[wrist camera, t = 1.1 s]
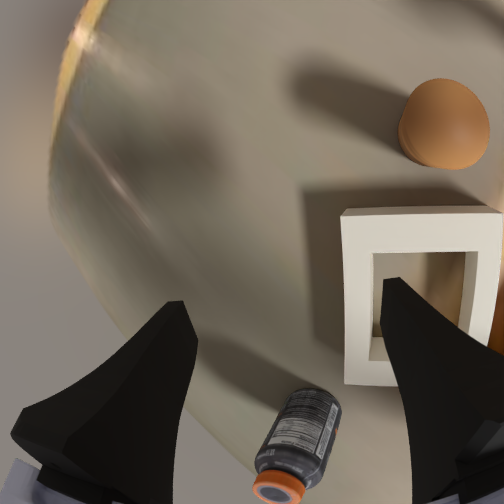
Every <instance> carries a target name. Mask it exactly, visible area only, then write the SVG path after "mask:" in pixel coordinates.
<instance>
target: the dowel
mask: <svg viewBox="0 0 504 504" xmlns="http://www.w3.org/2000/svg"><path fill="white" fill-rule="evenodd" d="M489 136H490V127H489V120H488V116H487V113H486V111H485V109H484V107H483V105H482V103H481V102H480V100H479V99H478V98H477V96H476V95H475V94H474V93H473V92H472V91H471V90H470V89H468V88H467V87H465V86H464V85H462V84H460V83H458V82H456V81H453V80H449V79H432V80H429V81H426V82H424V83H422V84H421V85H419V86H418V87H417V88H416V89H415V90H414V91H413V92H412V94H411V95H410V97H409V99H408V101H407V104H406V107H405V109H404V112H403V115H402V117H401V120H400V122H399V126H398V140H399V143H400V146H401V148H402V150H403V152H404V153H405V154H406V155H407V156H408V157H409V158H410V159H411V160H412V161H414V162H415V163H417V164H419V165H422V166H427V167H435V168H443V169H451V170H457V169H463V168H466V167H469V166H471V165H472V164H474V163H475V162H477V161H478V160H479V159H480V158H481V156H482V155H483V153H484V152H485V150H486V148H487V145H488V142H489Z"/></svg>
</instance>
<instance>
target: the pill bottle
mask: <svg viewBox="0 0 504 504" xmlns="http://www.w3.org/2000/svg"><path fill="white" fill-rule="evenodd" d="M341 414H342V411H341V406H340V404H339V403H338V401H337V400H336V399H335V398H334V397H333V396H331V395H330V394H328V393H326V392H324V391H321V390H317V389H301V390H298V391H295V392H294V393H292V394H291V395H290V396H289V397H288V398H287V399H286V401H285V403H284V405H283V407H282V408H281V410H280V412H279V414H278V416H277V418H276V420H275V422H274V424H273V426H272V428H271V430H270V432H269V433H268V435H267V437H266V439H265V441H264V443H263V445H262V446H261V448H260V450H259V452H258V454H257V456H256V458H255V469H256V471H257V473H258V474H259V475H258V476H257V478H256V481H255V482H254V484H253V492H254V494H255V495H256V496H258V497H259V498H260V499H262V500H263V501H265V502H268V503H270V504H298V503H299V502H300V501H301V499H302V496H303V494H304V493H305V490H307V489H310V488H312V487H314V486H316V485H317V484H318V483H319V482H320V481H321V479H322V477H323V474H324V471H325V468H326V465H327V462H328V459H329V456H330V453H331V450H332V446H333V444H334V441H335V436H336V433H337V430H338V427H339V423H340V419H341Z"/></svg>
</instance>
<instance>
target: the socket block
mask: <svg viewBox="0 0 504 504" xmlns="http://www.w3.org/2000/svg"><path fill="white" fill-rule="evenodd" d="M340 220H341V234H342V250H343V270H344V301H345V367H344V384H349V385H368V386H398V384H397V381H396V378H395V375H394V372H393V369H392V366H391V363H390V360H389V357H388V354H387V351H386V348H385V344H384V340H383V337H372V326H373V253H404V252H466V255H465V270H464V282H463V292H462V301H461V308H460V316H459V322H458V328H459V329H461V330H462V331H464V332H465V333H466V334H468V335H469V336H471V337H472V338H474V339H475V340H477V341H478V342H480V343H482V344H483V345H485V346H487V344H488V339H489V335H490V330H491V325H492V320H493V315H494V309H495V303H496V296H497V289H498V282H499V273H500V264H501V252H502V236H503V213H501V212H499V211H497V210H495V209H493V208H491V207H489V206H404V207H371V208H347V209H346V210H345V211H344V212H343V214H342V215H341V216H340Z"/></svg>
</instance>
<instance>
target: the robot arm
mask: <svg viewBox="0 0 504 504" xmlns="http://www.w3.org/2000/svg"><path fill="white" fill-rule="evenodd" d="M380 326H381V330H382V335H383V340H384V344H385V348H386V351H387V354H388V357H389V360H390V363H391V366H392V369H393V372H394V375H395V378H396V381H397V384H398V387H399V391H400V394H401V397H402V401H403V405H404V410H405V416H406V422H407V428H408V436H409V444H410V454H411V467H412V504H504V356H503V355H501V354H499V353H497V352H496V351H494V350H492V349H490V348H488V347H487V346H485V345H483V344H482V343H480V342H478V341H477V340H475V339H474V338H472V337H471V336H469V335H468V334H466V333H465V332H464V331H462V330H461V329H459V328H458V327H457V326H455V325H454V324H453V323H452V322H450V321H449V320H448V319H447V318H445V317H444V316H443V315H442V314H440V313H439V312H438V311H437V310H436V309H435V308H433V307H432V306H431V305H430V304H429V303H428V302H427V301H425V300H424V299H423V298H422V297H421V296H420V295H419V294H418V293H417V292H415V291H414V290H413V289H412V288H411V287H410V286H409V285H408V284H407V283H406V282H405V281H403V280H402V279H401V278H400V277H397V278H390V279H383V293H382V306H381V317H380ZM197 346H198V338H197V335H196V333H195V331H194V328H193V326H192V323H191V321H190V318H189V315H188V313H187V310H186V308H185V305H184V302H183V301H170V302H167V303H166V304H165V305H164V306H163V307H162V308H161V309H160V310H159V311H158V312H157V313H156V314H155V315H154V316H153V317H152V318H151V319H150V320H149V321H148V322H147V323H146V324H145V325H144V326H143V327H142V328H141V329H140V330H139V331H138V332H137V333H136V334H135V335H134V336H133V337H132V338H131V339H130V340H129V341H128V342H126V343H125V344H124V346H122V347H121V348H120V349H119V350H118V351H117V352H116V353H115V354H114V355H112V356H111V357H110V358H109V359H108V360H106V361H105V362H104V363H103V364H101V365H100V366H99V367H98V368H96V369H95V370H94V371H92V372H91V373H90V374H88V375H86V376H85V377H83V378H82V379H80V380H79V381H78V382H76V383H74V384H73V385H71V386H70V387H68V388H66V389H64V390H63V391H61V392H59V393H57V394H55V395H53V396H51V397H49V398H47V399H45V400H43V401H40V402H38V403H36V404H33V405H31V406H29V407H26V408H23V410H22V412H21V414H20V416H19V417H18V419H17V421H16V423H15V425H14V427H13V429H12V431H11V433H10V434H11V437H12V439H13V440H14V441H15V442H16V443H17V444H18V445H19V446H20V447H21V448H22V449H23V450H25V451H26V452H27V453H28V454H30V455H31V456H32V457H34V458H35V459H36V460H37V461H38V462H40V463H41V464H42V468H41V470H39V469H37V468H36V467H34V466H32V465H30V464H28V463H26V462H24V461H22V460H20V459H18V458H16V459H15V461H14V463H13V465H12V467H11V469H10V471H9V474H8V476H7V479H6V481H5V483H4V486H3V488H2V491H1V493H0V504H173V472H174V458H175V449H176V448H175V447H176V440H177V433H178V426H179V420H180V416H181V412H182V408H183V404H184V401H185V397H186V394H187V390H188V387H189V383H190V380H191V376H192V373H193V369H194V365H195V361H196V354H197Z"/></svg>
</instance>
